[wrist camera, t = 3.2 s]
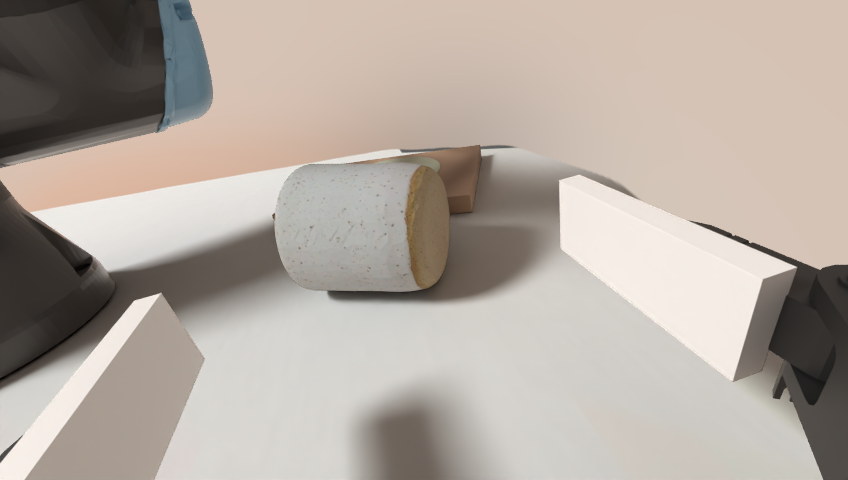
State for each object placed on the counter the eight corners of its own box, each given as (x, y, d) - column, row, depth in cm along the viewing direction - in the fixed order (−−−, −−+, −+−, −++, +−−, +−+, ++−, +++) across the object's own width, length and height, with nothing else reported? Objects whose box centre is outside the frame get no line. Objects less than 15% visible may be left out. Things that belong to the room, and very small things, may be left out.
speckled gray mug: (437, 320, 19) (406, 178, 15) (301, 316, 21) (248, 194, 18) (466, 226, 28) (452, 123, 24) (368, 231, 30) (342, 139, 27)
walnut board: (278, 229, 34) (271, 213, 33) (337, 176, 45) (333, 163, 45) (472, 211, 29) (469, 192, 28) (481, 158, 41) (479, 143, 40)
